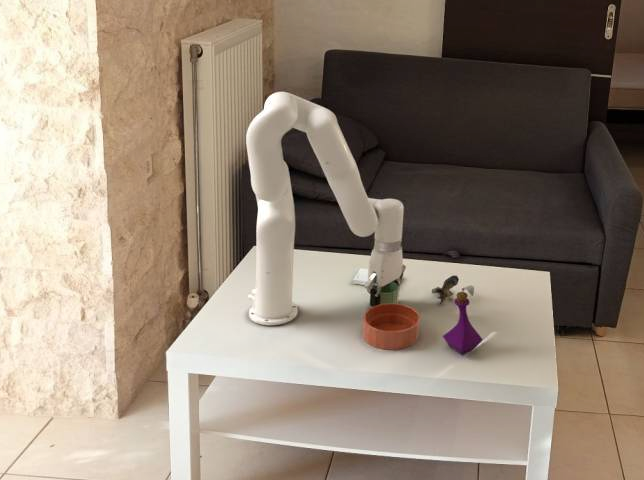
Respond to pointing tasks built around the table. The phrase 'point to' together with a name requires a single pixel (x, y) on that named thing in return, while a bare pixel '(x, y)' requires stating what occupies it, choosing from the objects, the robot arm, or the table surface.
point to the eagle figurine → (446, 288)
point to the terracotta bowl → (391, 326)
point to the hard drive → (361, 277)
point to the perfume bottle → (463, 327)
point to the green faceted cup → (389, 293)
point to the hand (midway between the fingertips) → (384, 301)
